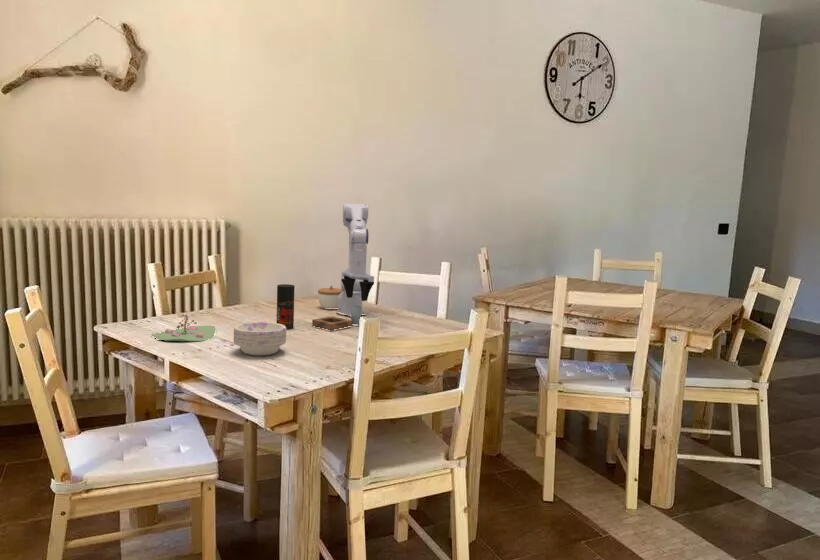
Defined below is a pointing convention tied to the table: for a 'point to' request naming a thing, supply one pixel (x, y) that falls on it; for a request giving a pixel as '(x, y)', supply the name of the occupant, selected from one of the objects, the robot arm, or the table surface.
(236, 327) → the paper bowls
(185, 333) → the plant
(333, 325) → the socket block
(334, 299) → the lidded jar
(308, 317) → the table surface
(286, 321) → the deodorant
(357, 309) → the peg
